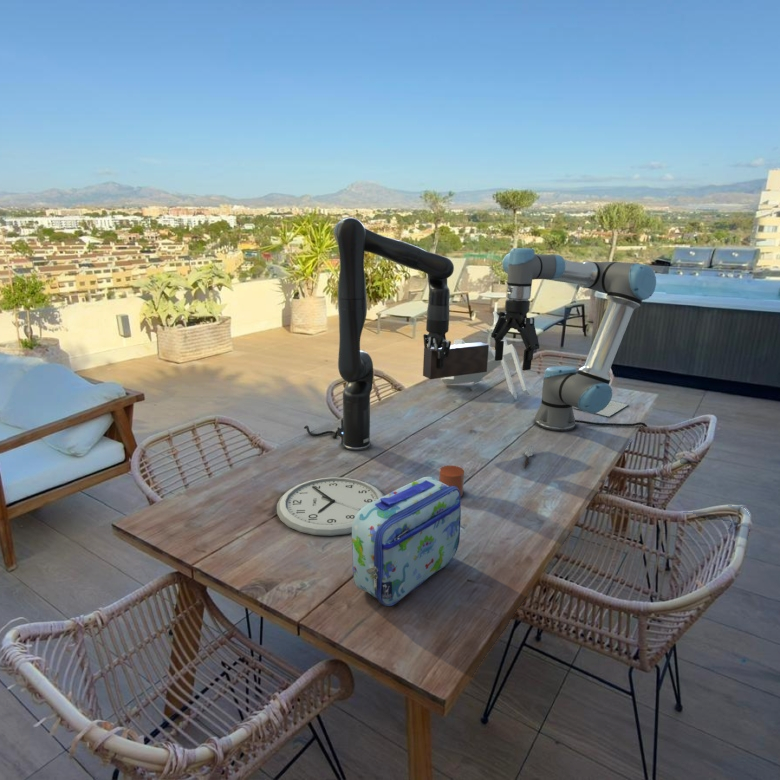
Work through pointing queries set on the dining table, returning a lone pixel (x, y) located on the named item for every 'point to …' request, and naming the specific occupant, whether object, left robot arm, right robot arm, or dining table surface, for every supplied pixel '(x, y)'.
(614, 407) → the invitation card
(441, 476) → the orange clay cylinder
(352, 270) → the left robot arm
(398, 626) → the dining table surface
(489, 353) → the white plastic object
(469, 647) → the dining table surface
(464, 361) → the walnut box
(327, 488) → the wall clock
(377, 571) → the lunch box
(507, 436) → the dining table surface
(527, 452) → the fork
